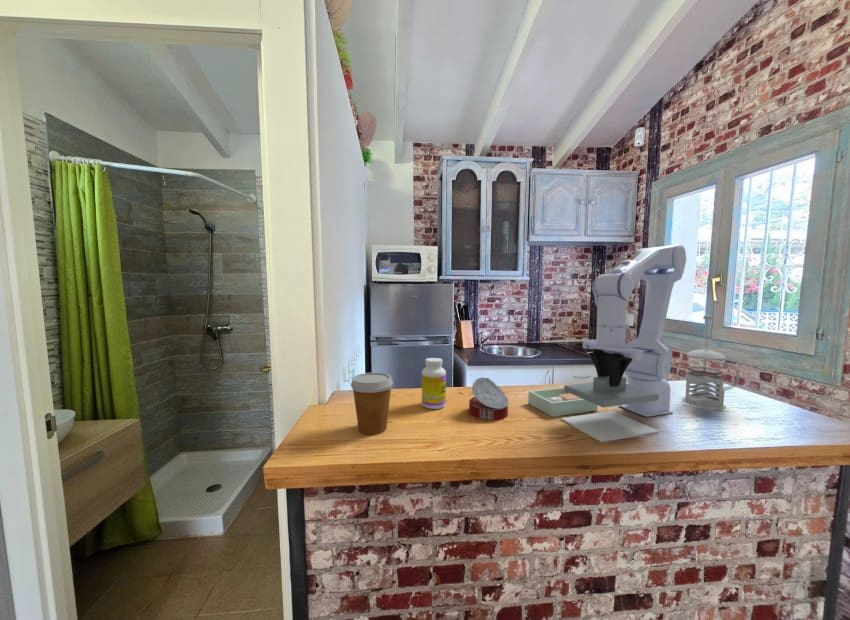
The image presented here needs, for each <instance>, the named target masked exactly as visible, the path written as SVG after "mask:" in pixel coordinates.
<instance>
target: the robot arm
mask: <svg viewBox="0 0 850 620" xmlns="http://www.w3.org/2000/svg"><path fill="white" fill-rule="evenodd" d="M686 254H687V252H686V249H685V247H684V246H683V245H682V243H681V244H680V243H677V244H673V245H663V246H654V247H641V248H639V249H637V250H636V252H635V256H634V258H633V259H632V260H631V259H623V260H622V261H620V264H619V265H617V266H616V267H614V268H612V269H611V271H609V272H608V273H605V274H604V273H602V274H600V275H598V276H596V278H594V281H593V283H592V289H591V290H592V293H593V296H594V304H595V306H596V310H597V311H596V312H597V313H596V340H591V339H590V340H589V339H588V340H587V339H586V340H584V339H583V340H582V349H586V350H593V351H591V352H589V353H588V357H590V360H591V361H592V363H593V365H594V367H595V370H596V373H597V377H603V376H609V384H610V386H611V387H616V386H619V385H620V382H621V379H622V377H624V375H625V376H627V384H628V385H632V386H635V387H638V388H641V389H644V390H647V391H651V392H654V393H657V394H659V399H658V400H657V401H649V402H641V403H634V404H626V405H619V406H618V407H621V408H623V409H625V410H628V411H630V412H632V413H636V414H638V415H640V416H643V417H646V418H647V417H654V416H662V415H669V414H673V413H674V410H671V409H670V407H671V404H670V403H671V384H670V383H669V382H668V380H667V379H666V378H667V377H669V375H670V372H671V369H672V363H671V360H672V353H671V351H670V348H668V347H667V346H666V345H664V344H663V343H662V342H661V341H662V336H663V332H664V327H665V323H666V320H667V314H668V310H669V305H670V301H671V297H672V294H673V293H672V291H673V289H674V286H675V283H676V282H678V281H680V280H681V279H682V278H683V275H684V272H685V267H686V262H687V255H686ZM641 280H642V281H644V282H647V283H649V286H650V287H649V290H648V294H647V299H646V302H645V306H644V311H643V315H642V319H641V323H640V327H639V331H638V332H639V333H638V336H637V337H636V339H633V340H630V341H629V342H627V343H626V332H627V330H626V327H627V306H628V305H627V304H628V302H627V301H628V299H629V298H630V297H631V296H632V294H633V291H634V288H635V285H637V284H638V283H640V281H641Z"/></svg>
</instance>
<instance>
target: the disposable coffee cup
mask: <svg viewBox="0 0 850 620" xmlns="http://www.w3.org/2000/svg"><path fill="white" fill-rule="evenodd" d="M393 385H394V381H393V379H392V376H391V375H390V374H388V373H386V372H385V373H384V372H365V373H360V374H357V375H354V376H353V378H352V380H351V383H350V387H351V389H352V391H353V392H352V393H353V399H354V405H355V406H354V407H355V413H356V421H357V426H358V431H359V433H360V434H363V435H367V436H372V435H374V436H375V435H378V434H382V433H384V432H385V431H386V430H387V426H388V417H389V410H390V409H389V408H390V401H391V391H392V387H393Z"/></svg>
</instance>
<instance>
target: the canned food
mask: <svg viewBox="0 0 850 620" xmlns="http://www.w3.org/2000/svg"><path fill="white" fill-rule="evenodd" d="M471 391H472V393H473V396H474V397H471V398H470V399H469V407H468V411H469V414H471V417H473V418H475V419H478V420H481V419H482V420H483V421H488V420H491V422H493V421H494V420H497V421H501V419H502V420H505V419H506V418H507V417H508V416H509V414H508V413H509V412H508V411H509V398H508V396H507V395H506V394H505V392H504V391H503V390H502V389H501V388H500V386H499V385H497V384H496V383H495V382H494V381H493V380H491V379H490V378H488V377H479V378H477V379H475V380H474V382H473V384H472V389H471ZM504 418H505V419H504ZM492 420H493V421H492ZM494 422H495V421H494Z"/></svg>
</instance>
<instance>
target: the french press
mask: <svg viewBox="0 0 850 620" xmlns="http://www.w3.org/2000/svg"><path fill="white" fill-rule="evenodd" d="M703 319H704V320H706V321H707V322H706V335H705V336H706V338H705V348H704V349H694V350H691V351H689V352H687V353H686V355H687V356H688V357H690V358H693V359H700V360H704V367H703V366H697V365H696V366H693V365H692V366H689V367H688V368H687V369H688V370H689V371H687V372H686V377H685V378H686V379H685V396H684V397H683V398H681V399H682V401H683V402H685V403H687V404H689V405H693V406H696V407H700V408H699V409H701V408H704V409H703V410H706V409H710V410H709V411H714V410H723V411H725V410H724V409H726V407H727V406H726V405H725V404H724V401H725V400H724V399H725V391H728V390H731V389H734V388H735V387H736V386H737V385H738V383H739V382H740V373H739V371H738V369H737V368H736V367H735V366H734V365H733V364H732V363H729V362H727V361H724V360H726V355H723V354H722V353H720V352H717V351H713V350H709V349H708V348H707V347H708V334H709V333H708V331H709V330H708V329H709V320H712V319H713V316H712V315H711V314H705V315H704V316H703V317H702V320H703ZM708 360H709V361H723V362H722V367H723V368H726V365H729V366H731V367H732V368H733V369H734V371H735V375H736V379H735V381H734V382H733V383H732V384H731V385H729V386H726V387H724V381H725V379H724V377H723V376H722V374H723V373H724V372H723V371H722V370H721V369H717V368H712V367H707V361H708ZM705 377H706V378H705ZM707 377H708V378H707ZM711 383H712V384H711ZM691 384H692V385H691ZM713 384H714V385H713ZM690 393H691V394H690ZM682 401H681V402H682ZM683 402H682V403H683ZM685 403H684V404H685ZM687 404H686V405H687ZM689 405H688V406H689ZM693 406H692V407H693ZM696 407H695V408H696Z"/></svg>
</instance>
